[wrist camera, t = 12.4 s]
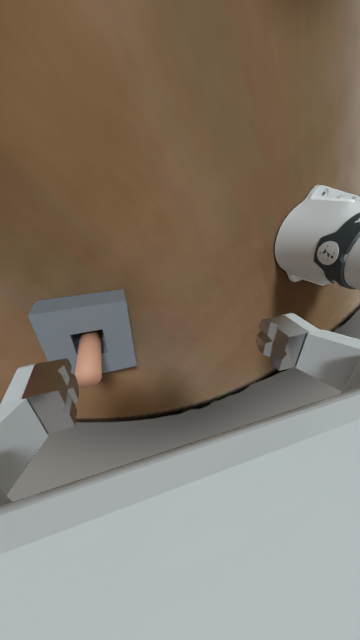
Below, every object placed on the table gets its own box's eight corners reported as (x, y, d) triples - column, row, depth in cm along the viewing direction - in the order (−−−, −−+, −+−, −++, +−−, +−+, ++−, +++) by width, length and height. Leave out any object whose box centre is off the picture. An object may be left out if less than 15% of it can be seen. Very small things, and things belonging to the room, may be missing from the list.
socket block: (123, 289, 39) (126, 300, 35) (133, 350, 46) (136, 365, 42) (35, 300, 35) (27, 315, 31) (61, 364, 42) (57, 383, 38)
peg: (99, 321, 39) (98, 365, 30) (102, 337, 41) (103, 383, 31) (78, 325, 38) (71, 371, 29) (83, 341, 40) (78, 389, 30)
